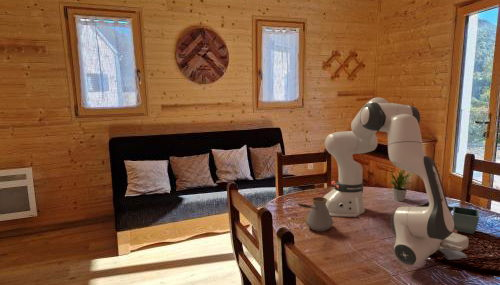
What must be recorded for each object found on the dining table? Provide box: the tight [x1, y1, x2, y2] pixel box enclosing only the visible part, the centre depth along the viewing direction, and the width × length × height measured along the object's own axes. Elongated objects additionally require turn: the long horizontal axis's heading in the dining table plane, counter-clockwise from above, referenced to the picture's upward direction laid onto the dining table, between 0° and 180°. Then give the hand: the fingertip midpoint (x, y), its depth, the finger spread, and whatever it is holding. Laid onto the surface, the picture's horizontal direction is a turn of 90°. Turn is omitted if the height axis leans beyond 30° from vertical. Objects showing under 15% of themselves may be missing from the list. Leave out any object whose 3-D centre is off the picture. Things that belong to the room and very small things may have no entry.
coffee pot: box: [295, 196, 334, 232], centre depth 140 cm, size 21×12×15 cm, turn 135°
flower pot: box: [452, 205, 480, 235], centre depth 136 cm, size 9×9×9 cm
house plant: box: [388, 170, 413, 202], centre depth 174 cm, size 14×14×16 cm
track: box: [438, 247, 468, 261], centre depth 128 cm, size 7×24×1 cm, turn 4°
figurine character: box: [415, 201, 454, 212], centre depth 149 cm, size 7×8×15 cm
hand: (443, 228), depth 124 cm, fingers closed on pawn, 3 cm apart
